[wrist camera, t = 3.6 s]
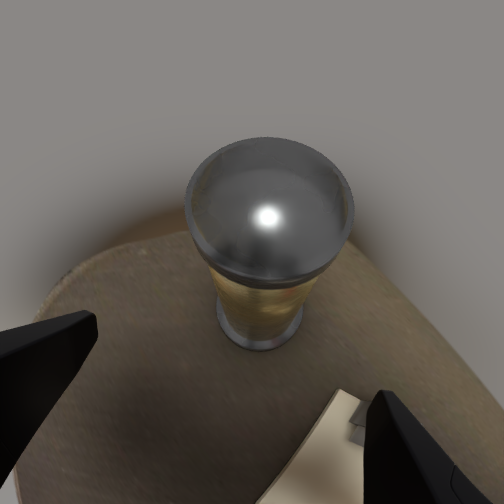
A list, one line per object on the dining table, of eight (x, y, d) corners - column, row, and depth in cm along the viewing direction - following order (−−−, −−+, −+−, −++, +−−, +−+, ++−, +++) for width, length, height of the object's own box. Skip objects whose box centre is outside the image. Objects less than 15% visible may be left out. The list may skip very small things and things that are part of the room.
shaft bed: (300, 575, 11) (309, 600, 8) (218, 542, 13) (212, 568, 10) (414, 425, 17) (443, 428, 13) (338, 385, 18) (357, 383, 15)
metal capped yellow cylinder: (217, 351, 19) (164, 288, 8) (219, 272, 22) (186, 133, 10) (302, 350, 19) (379, 285, 8) (297, 272, 22) (344, 135, 10)
